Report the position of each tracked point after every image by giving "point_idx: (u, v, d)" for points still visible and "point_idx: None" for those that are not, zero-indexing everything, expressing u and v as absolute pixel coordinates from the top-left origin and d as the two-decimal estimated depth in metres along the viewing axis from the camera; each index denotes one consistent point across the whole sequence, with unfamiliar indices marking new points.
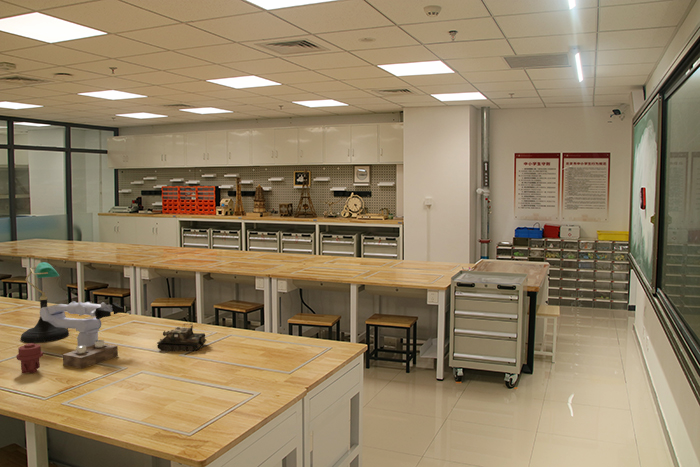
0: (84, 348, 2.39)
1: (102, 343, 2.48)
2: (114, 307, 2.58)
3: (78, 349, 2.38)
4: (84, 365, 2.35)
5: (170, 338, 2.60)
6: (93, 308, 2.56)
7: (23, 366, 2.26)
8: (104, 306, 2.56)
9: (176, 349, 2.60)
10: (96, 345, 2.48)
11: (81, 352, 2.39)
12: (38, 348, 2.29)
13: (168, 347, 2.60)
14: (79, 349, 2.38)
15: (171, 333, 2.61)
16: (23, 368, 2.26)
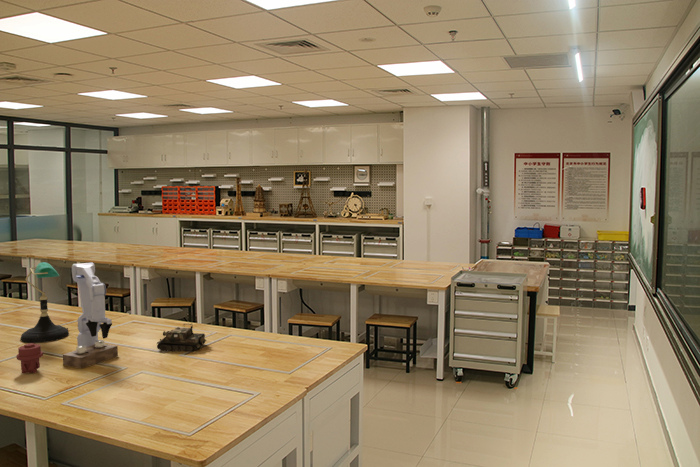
0: (84, 348, 2.39)
1: (102, 343, 2.48)
2: None
3: (78, 349, 2.38)
4: (84, 365, 2.35)
5: (170, 338, 2.60)
6: None
7: (23, 366, 2.26)
8: None
9: (176, 349, 2.60)
10: (96, 345, 2.48)
11: (81, 352, 2.39)
12: (38, 348, 2.29)
13: (168, 347, 2.60)
14: (79, 349, 2.38)
15: (171, 333, 2.61)
16: (23, 368, 2.26)
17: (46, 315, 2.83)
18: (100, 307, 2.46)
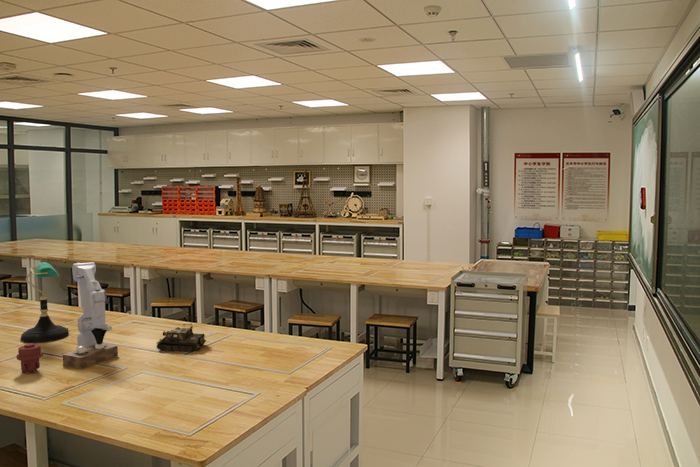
0: (84, 348, 2.39)
1: (102, 346, 2.49)
2: None
3: (78, 349, 2.38)
4: (84, 365, 2.35)
5: (169, 338, 2.60)
6: None
7: (23, 366, 2.26)
8: None
9: (175, 349, 2.60)
10: (96, 348, 2.48)
11: (81, 352, 2.39)
12: (38, 348, 2.29)
13: (167, 347, 2.60)
14: (79, 349, 2.38)
15: (170, 333, 2.61)
16: (23, 368, 2.26)
17: (46, 315, 2.83)
18: (100, 314, 2.46)
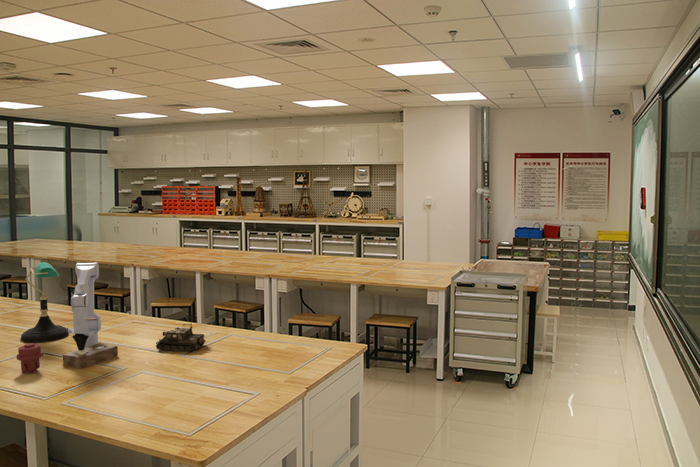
0: (84, 351, 2.40)
1: None
2: None
3: (78, 352, 2.38)
4: (84, 365, 2.35)
5: (169, 338, 2.60)
6: None
7: (23, 366, 2.26)
8: None
9: (174, 349, 2.60)
10: None
11: None
12: (38, 348, 2.29)
13: (166, 347, 2.60)
14: (79, 352, 2.38)
15: (170, 333, 2.60)
16: (23, 368, 2.26)
17: (46, 315, 2.83)
18: (79, 319, 2.36)
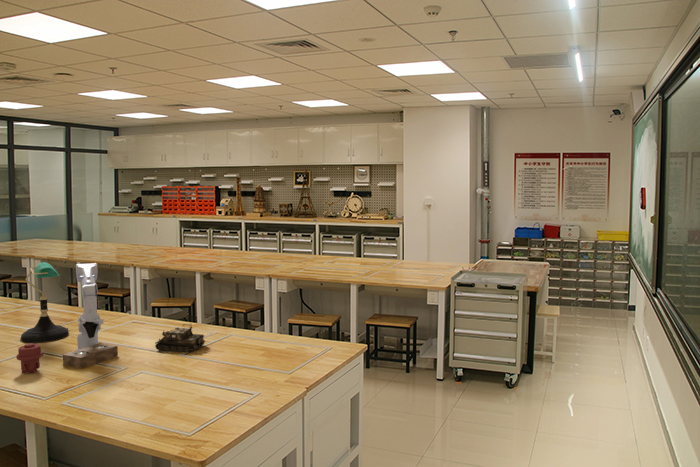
0: None
1: None
2: None
3: None
4: (84, 365, 2.35)
5: (168, 338, 2.60)
6: None
7: (23, 366, 2.26)
8: None
9: (173, 350, 2.59)
10: None
11: None
12: (38, 348, 2.29)
13: (166, 347, 2.60)
14: None
15: (169, 333, 2.60)
16: (23, 368, 2.26)
17: (46, 315, 2.83)
18: (90, 307, 2.45)
